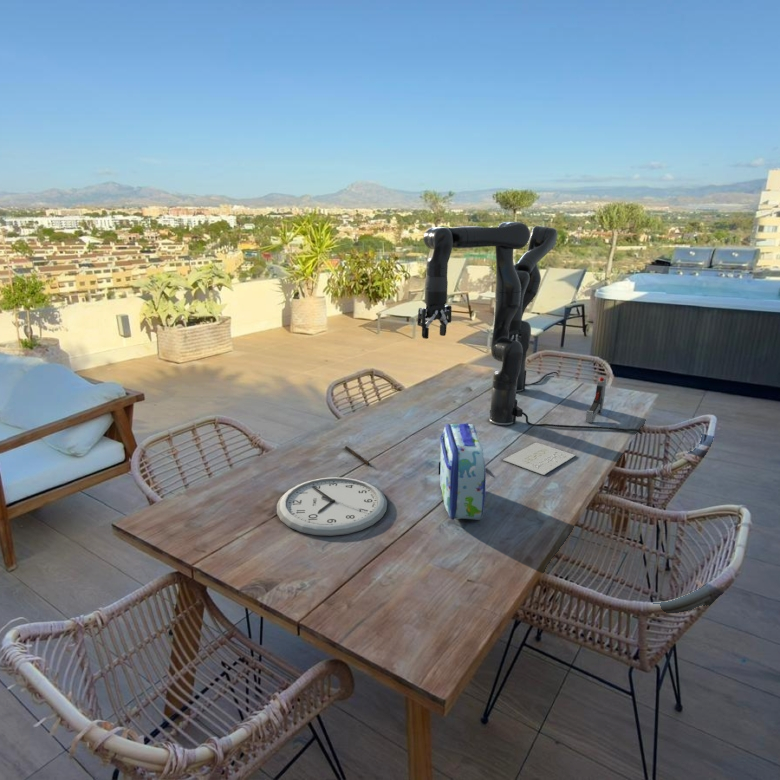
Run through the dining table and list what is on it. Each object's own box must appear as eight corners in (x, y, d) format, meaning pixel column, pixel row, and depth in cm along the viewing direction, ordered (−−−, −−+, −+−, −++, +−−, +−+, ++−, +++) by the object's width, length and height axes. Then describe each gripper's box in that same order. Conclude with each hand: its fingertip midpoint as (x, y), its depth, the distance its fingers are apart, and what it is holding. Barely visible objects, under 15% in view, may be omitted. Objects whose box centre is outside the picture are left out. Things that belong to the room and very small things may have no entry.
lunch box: (436, 479, 158) (439, 414, 152) (472, 480, 158) (476, 415, 152) (443, 526, 133) (448, 451, 127) (486, 527, 133) (492, 452, 127)
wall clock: (392, 527, 129) (268, 531, 127) (391, 533, 130) (269, 537, 127) (383, 473, 158) (282, 475, 155) (383, 478, 158) (282, 480, 156)
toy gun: (589, 386, 202) (601, 375, 213) (585, 424, 208) (596, 411, 219) (595, 387, 201) (607, 376, 212) (591, 425, 207) (602, 412, 218)
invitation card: (535, 442, 186) (575, 454, 176) (535, 442, 187) (575, 455, 176) (502, 459, 172) (543, 474, 162) (502, 460, 172) (543, 475, 162)
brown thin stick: (344, 448, 179) (344, 445, 179) (346, 448, 179) (346, 445, 179) (367, 464, 167) (367, 462, 167) (368, 464, 167) (368, 461, 167)
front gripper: (429, 292, 168) (427, 341, 173) (458, 289, 177) (456, 336, 182) (413, 289, 174) (411, 337, 179) (442, 287, 183) (440, 332, 188)
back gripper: (510, 321, 215) (506, 361, 220) (529, 318, 224) (525, 356, 229) (495, 318, 220) (491, 358, 225) (515, 315, 229) (511, 353, 234)
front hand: (434, 336), depth 180 cm, fingers open, 8 cm apart
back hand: (509, 357), depth 227 cm, fingers closed on block, 4 cm apart
